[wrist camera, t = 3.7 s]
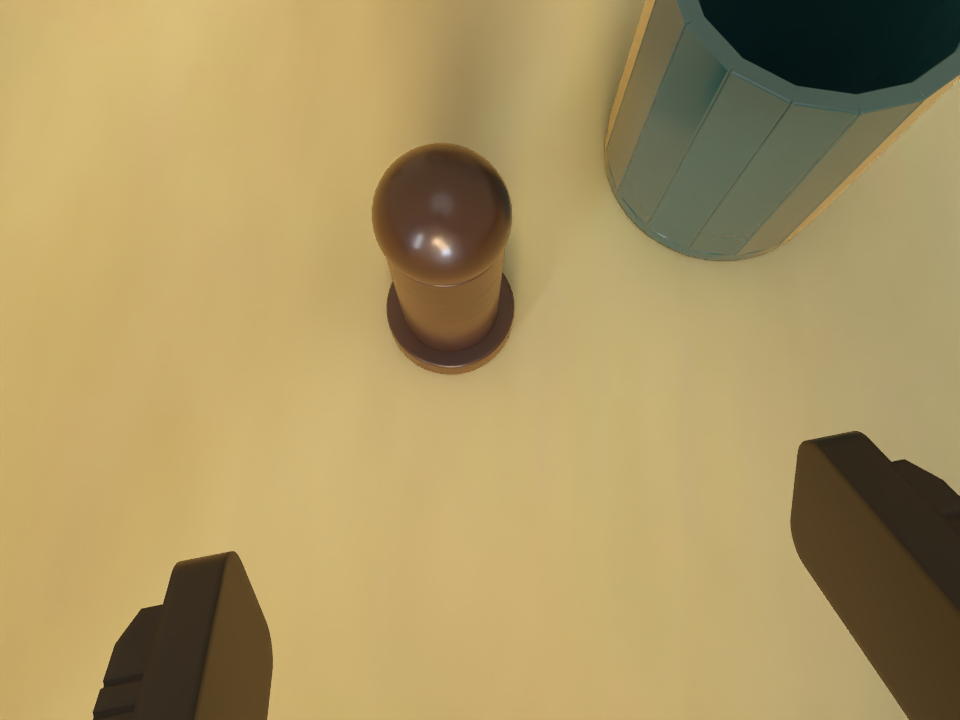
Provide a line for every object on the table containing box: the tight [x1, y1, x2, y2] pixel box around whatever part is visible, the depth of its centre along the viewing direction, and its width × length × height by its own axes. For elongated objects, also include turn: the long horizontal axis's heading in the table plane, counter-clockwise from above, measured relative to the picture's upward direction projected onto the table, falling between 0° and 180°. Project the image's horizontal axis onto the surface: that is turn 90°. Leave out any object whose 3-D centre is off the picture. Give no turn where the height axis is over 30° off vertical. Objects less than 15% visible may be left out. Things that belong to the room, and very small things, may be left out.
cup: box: [604, 0, 960, 261], centre depth 22 cm, size 8×8×9 cm
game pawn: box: [372, 143, 514, 374], centre depth 20 cm, size 4×4×9 cm
